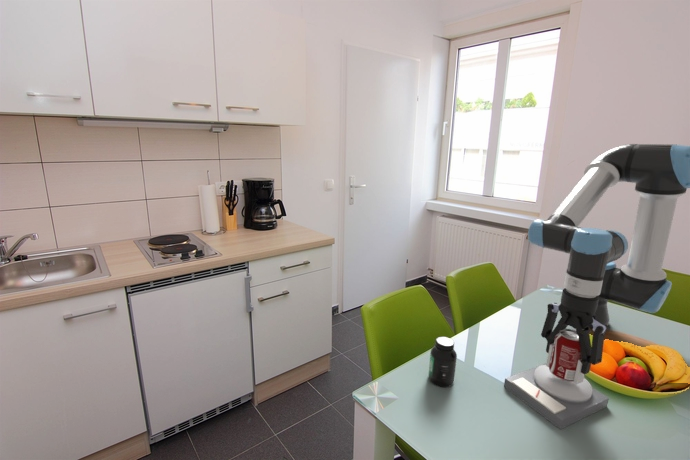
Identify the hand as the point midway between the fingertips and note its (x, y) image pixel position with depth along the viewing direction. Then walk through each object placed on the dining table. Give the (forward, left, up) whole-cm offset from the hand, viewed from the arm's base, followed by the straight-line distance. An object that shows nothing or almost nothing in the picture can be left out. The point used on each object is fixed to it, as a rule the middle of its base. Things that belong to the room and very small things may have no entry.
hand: (563, 373), depth 92 cm
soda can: (0, 0, -1) cm, 1 cm away
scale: (+2, 0, -6) cm, 7 cm away
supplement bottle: (+25, -17, -6) cm, 31 cm away
